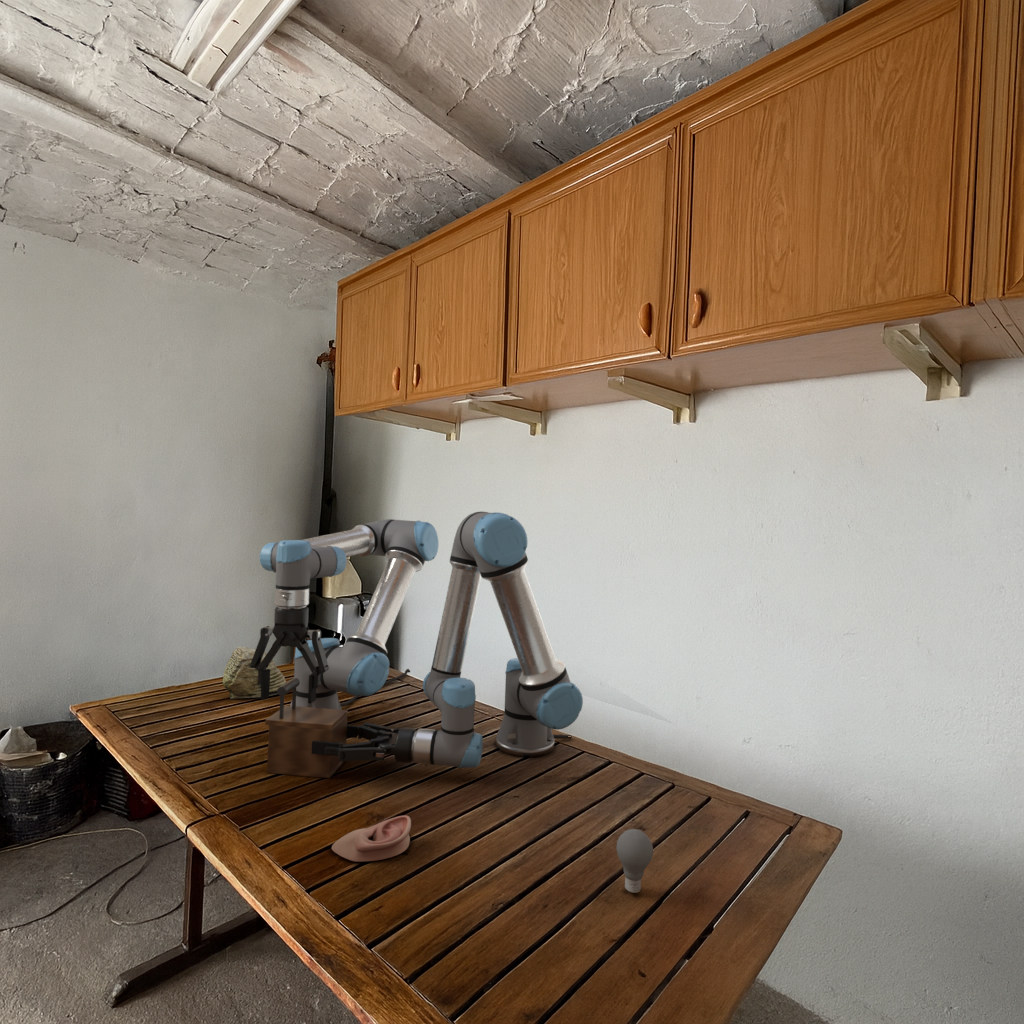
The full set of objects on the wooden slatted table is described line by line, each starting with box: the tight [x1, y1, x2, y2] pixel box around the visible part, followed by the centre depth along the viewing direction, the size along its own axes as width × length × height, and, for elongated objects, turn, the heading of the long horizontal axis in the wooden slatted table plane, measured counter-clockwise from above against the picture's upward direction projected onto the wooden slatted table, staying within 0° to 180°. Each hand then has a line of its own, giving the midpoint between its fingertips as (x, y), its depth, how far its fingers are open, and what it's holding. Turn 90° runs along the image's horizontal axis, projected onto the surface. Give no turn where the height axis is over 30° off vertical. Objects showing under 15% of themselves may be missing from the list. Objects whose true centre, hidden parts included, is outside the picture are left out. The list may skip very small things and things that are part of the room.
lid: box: [264, 677, 349, 730], centre depth 148 cm, size 16×10×8 cm, turn 85°
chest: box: [266, 715, 348, 779], centre depth 148 cm, size 15×10×11 cm
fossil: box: [222, 646, 287, 699], centre depth 198 cm, size 9×18×15 cm, turn 132°
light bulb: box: [615, 828, 654, 894], centre depth 106 cm, size 6×6×10 cm
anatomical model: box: [331, 814, 412, 863], centre depth 116 cm, size 13×4×12 cm
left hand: (288, 699), depth 149 cm, fingers open, 11 cm apart
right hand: (321, 738), depth 148 cm, fingers closed on chest, 10 cm apart
